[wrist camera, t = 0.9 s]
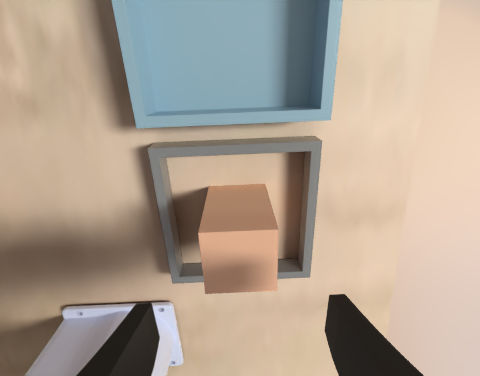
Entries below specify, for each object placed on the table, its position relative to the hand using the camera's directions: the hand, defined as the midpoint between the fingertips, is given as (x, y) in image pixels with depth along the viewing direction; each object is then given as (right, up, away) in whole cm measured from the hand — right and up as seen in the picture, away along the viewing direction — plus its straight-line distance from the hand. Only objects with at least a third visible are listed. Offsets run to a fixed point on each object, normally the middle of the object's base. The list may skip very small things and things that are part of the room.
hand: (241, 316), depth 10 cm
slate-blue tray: (-1, +15, +4) cm, 15 cm away
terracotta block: (0, +4, +9) cm, 9 cm away
